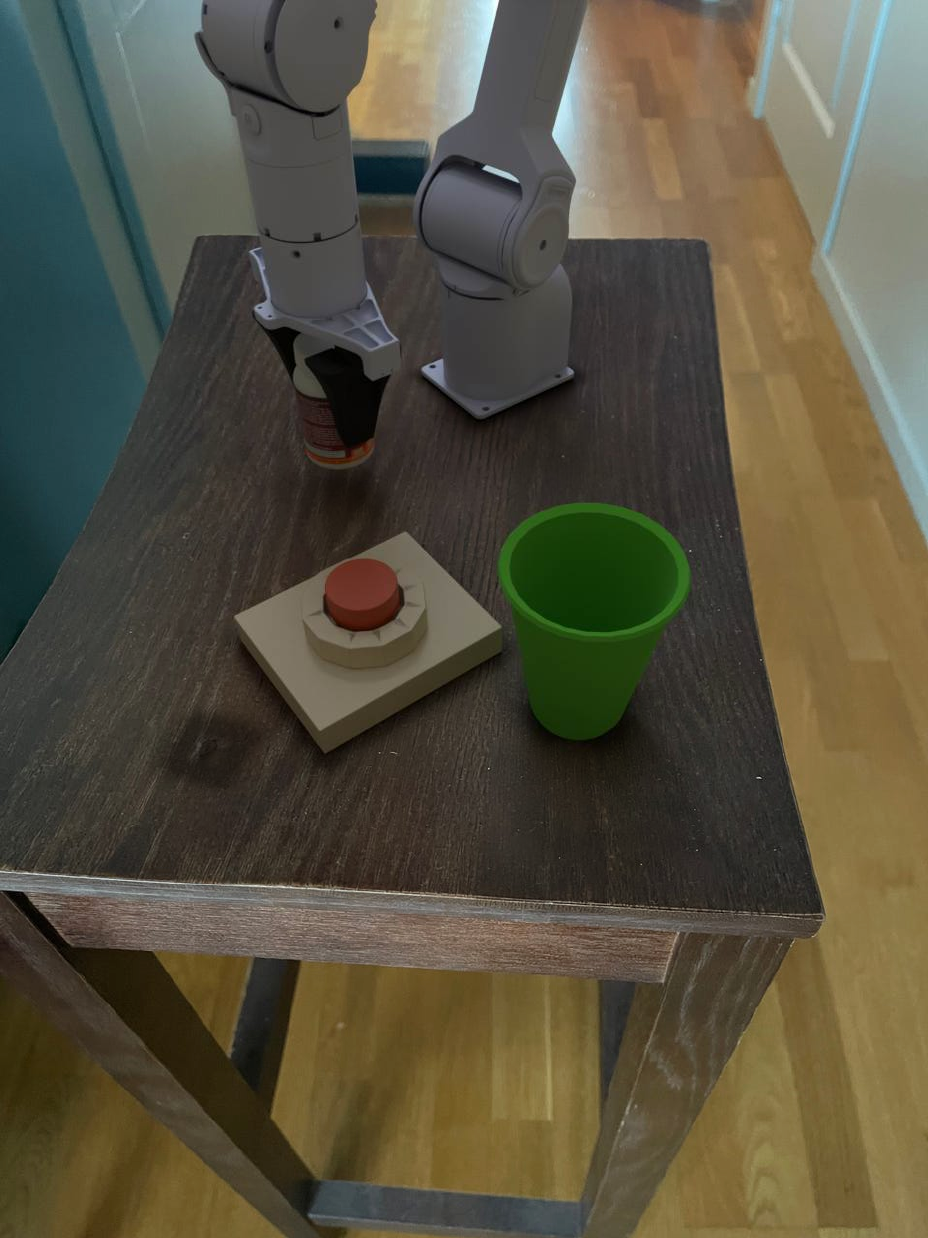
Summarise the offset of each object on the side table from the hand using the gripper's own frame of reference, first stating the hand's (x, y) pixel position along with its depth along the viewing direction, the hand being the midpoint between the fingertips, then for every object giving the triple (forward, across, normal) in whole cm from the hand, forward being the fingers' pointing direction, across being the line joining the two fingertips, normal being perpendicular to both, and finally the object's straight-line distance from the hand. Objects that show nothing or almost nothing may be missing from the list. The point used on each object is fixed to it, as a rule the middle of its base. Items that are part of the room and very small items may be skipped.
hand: (337, 420), depth 61 cm
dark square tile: (+5, +16, -18) cm, 24 cm away
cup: (+5, +25, 0) cm, 25 cm away
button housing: (+5, +14, -7) cm, 17 cm away
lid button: (+1, +14, -7) cm, 16 cm away
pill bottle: (+3, 0, 0) cm, 3 cm away
